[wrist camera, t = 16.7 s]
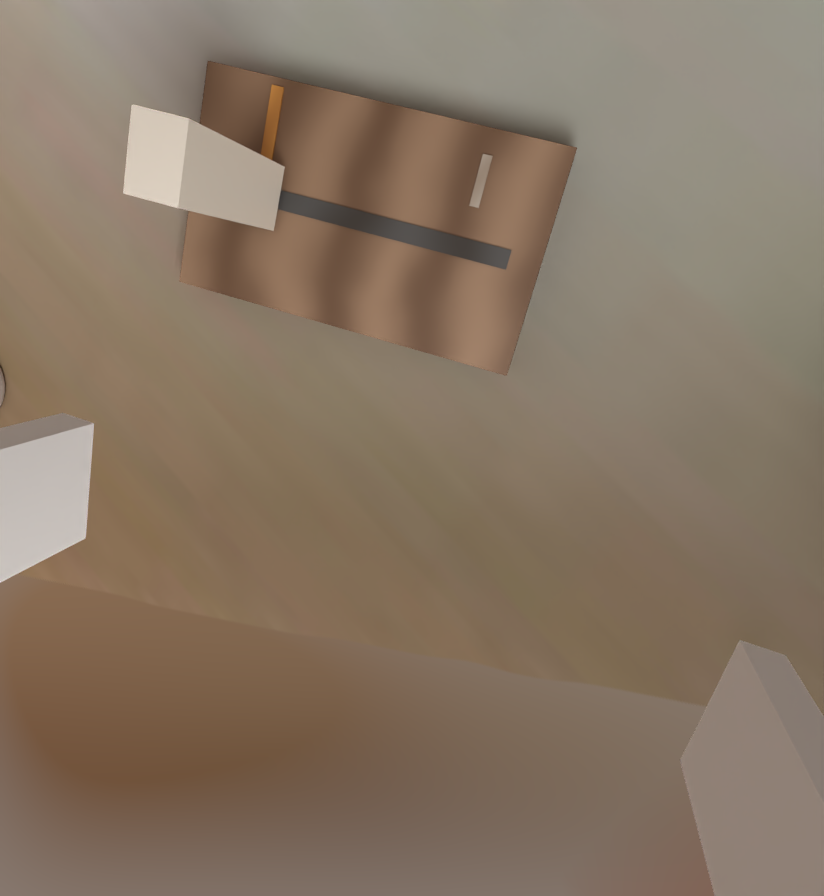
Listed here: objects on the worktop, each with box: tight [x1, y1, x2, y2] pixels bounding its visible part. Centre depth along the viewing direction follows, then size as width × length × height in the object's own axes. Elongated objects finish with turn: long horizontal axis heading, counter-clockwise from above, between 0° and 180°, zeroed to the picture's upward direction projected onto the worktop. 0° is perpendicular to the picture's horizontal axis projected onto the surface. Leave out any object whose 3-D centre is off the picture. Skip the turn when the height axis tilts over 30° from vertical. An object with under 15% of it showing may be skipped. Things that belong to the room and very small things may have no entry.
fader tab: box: [123, 104, 285, 231], centre depth 33 cm, size 3×4×11 cm
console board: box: [179, 61, 577, 376], centre depth 39 cm, size 24×14×2 cm, turn 75°
